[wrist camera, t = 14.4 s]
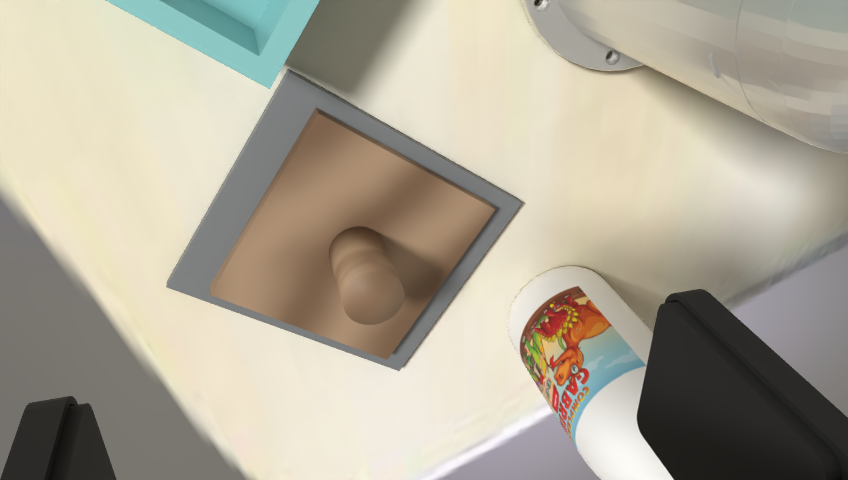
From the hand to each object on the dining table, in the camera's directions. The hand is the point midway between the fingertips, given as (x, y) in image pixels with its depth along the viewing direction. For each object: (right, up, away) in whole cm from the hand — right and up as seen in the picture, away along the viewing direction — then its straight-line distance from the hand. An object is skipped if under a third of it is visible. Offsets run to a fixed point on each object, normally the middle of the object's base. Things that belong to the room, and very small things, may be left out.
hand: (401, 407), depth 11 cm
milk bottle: (+10, -2, +36) cm, 37 cm away
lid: (-4, +3, +28) cm, 29 cm away
